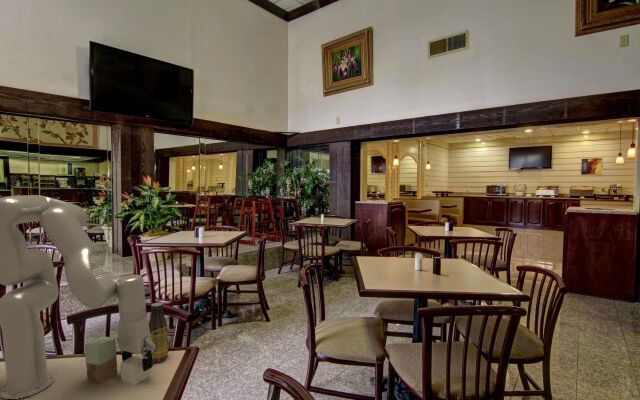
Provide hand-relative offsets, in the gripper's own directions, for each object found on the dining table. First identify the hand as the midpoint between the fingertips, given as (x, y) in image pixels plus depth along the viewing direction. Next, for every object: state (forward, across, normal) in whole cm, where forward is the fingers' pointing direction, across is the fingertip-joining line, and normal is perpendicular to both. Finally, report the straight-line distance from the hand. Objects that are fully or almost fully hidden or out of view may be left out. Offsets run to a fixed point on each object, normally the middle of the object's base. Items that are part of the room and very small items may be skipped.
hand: (137, 366), depth 109 cm
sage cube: (-2, -11, -4) cm, 12 cm away
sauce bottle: (+4, -4, +11) cm, 12 cm away
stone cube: (+4, -1, 0) cm, 4 cm away
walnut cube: (+4, -12, -4) cm, 13 cm away
